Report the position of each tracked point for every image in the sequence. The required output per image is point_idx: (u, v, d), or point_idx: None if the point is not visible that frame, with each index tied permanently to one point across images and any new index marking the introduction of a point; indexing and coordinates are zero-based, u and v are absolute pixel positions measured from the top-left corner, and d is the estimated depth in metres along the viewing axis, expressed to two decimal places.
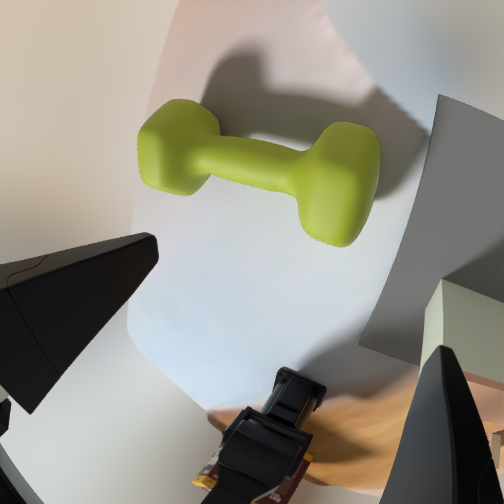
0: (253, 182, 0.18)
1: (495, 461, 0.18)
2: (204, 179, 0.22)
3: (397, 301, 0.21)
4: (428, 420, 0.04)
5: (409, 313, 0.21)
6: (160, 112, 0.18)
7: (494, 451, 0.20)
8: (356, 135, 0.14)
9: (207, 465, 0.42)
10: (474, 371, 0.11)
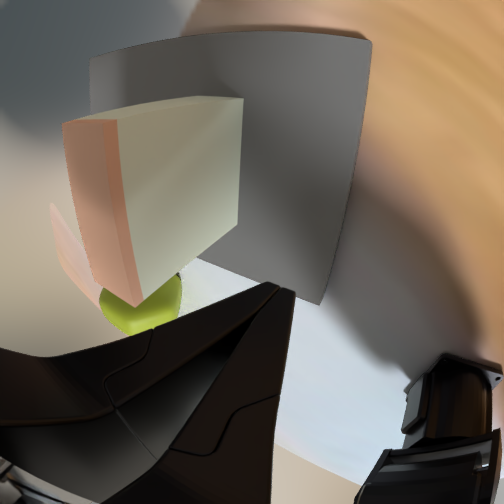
0: None
1: None
2: None
3: (237, 257, 0.20)
4: None
5: (248, 242, 0.19)
6: None
7: None
8: None
9: None
10: None
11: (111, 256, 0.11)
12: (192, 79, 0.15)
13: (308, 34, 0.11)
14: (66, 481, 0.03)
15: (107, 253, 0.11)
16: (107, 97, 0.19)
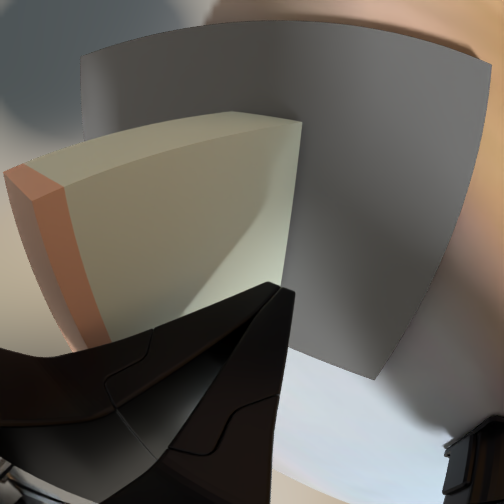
0: None
1: None
2: None
3: None
4: None
5: (295, 311, 0.15)
6: None
7: None
8: None
9: None
10: None
11: None
12: (224, 86, 0.11)
13: (408, 39, 0.07)
14: (66, 481, 0.03)
15: None
16: (103, 107, 0.15)
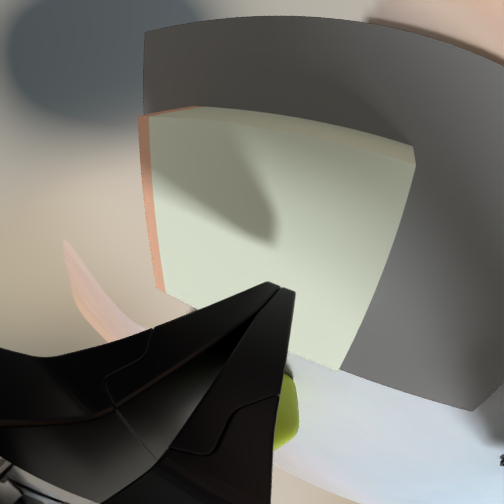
0: None
1: None
2: None
3: (399, 372, 0.13)
4: None
5: (423, 360, 0.12)
6: None
7: None
8: None
9: None
10: None
11: None
12: (408, 113, 0.08)
13: None
14: (66, 481, 0.03)
15: None
16: (185, 103, 0.12)
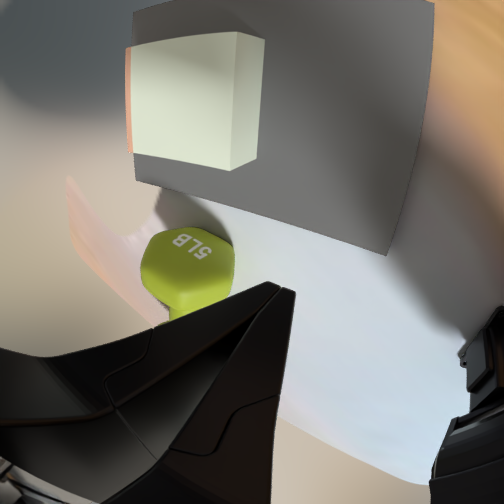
0: None
1: None
2: None
3: (300, 207, 0.19)
4: None
5: (314, 189, 0.18)
6: None
7: None
8: None
9: None
10: None
11: None
12: (260, 24, 0.14)
13: None
14: (66, 481, 0.03)
15: None
16: None
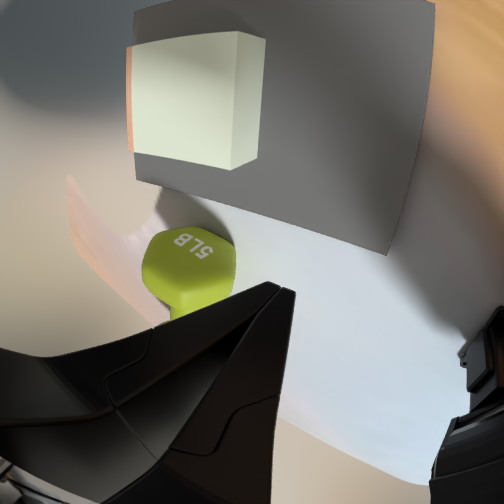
0: None
1: None
2: None
3: (300, 206, 0.19)
4: None
5: (314, 189, 0.18)
6: None
7: None
8: None
9: None
10: None
11: None
12: (261, 24, 0.14)
13: None
14: (66, 481, 0.03)
15: None
16: None
